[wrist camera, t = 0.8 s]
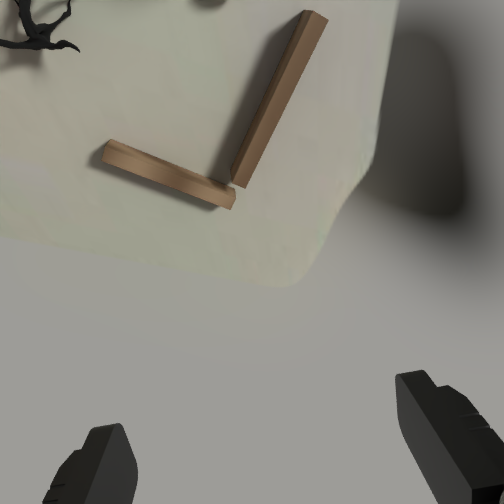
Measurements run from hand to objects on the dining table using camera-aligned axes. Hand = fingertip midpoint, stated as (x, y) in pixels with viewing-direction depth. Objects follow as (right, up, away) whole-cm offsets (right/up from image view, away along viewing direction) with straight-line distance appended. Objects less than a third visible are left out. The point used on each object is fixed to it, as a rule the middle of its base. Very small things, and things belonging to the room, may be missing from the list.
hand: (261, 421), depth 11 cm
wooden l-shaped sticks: (-4, +17, +19) cm, 26 cm away
